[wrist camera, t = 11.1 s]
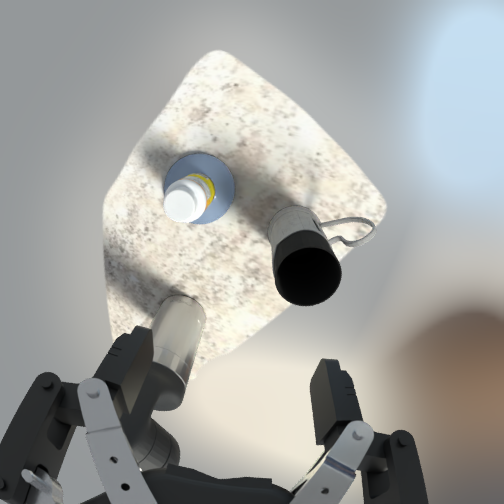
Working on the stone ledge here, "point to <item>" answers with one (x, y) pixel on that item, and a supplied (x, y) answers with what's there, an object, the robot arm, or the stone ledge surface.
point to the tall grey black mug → (307, 255)
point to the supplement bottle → (189, 197)
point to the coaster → (215, 172)
